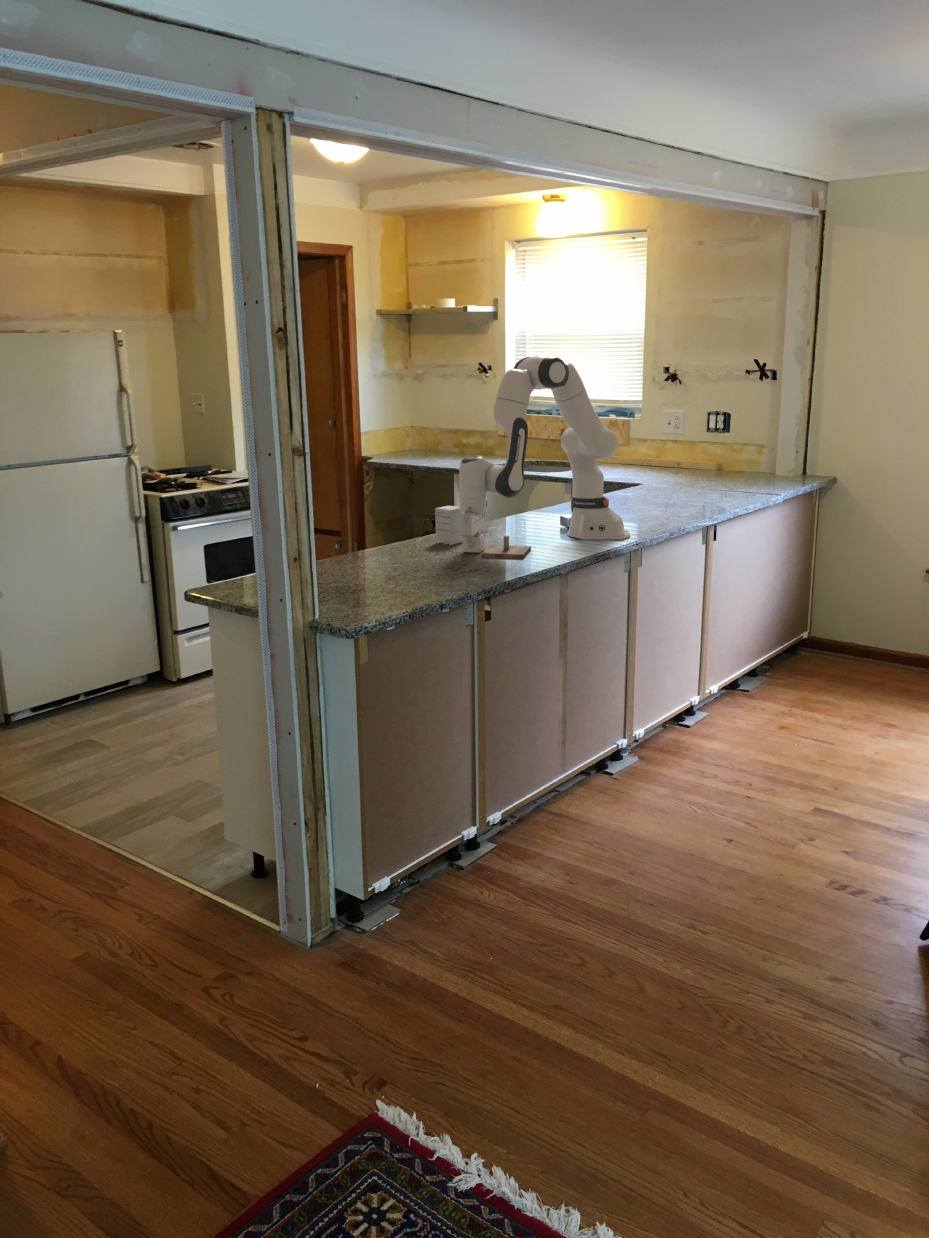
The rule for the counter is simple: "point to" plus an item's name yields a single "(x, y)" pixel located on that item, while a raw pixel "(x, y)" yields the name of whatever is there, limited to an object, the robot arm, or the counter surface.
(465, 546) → the collar
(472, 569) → the counter surface
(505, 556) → the pin board
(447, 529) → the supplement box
